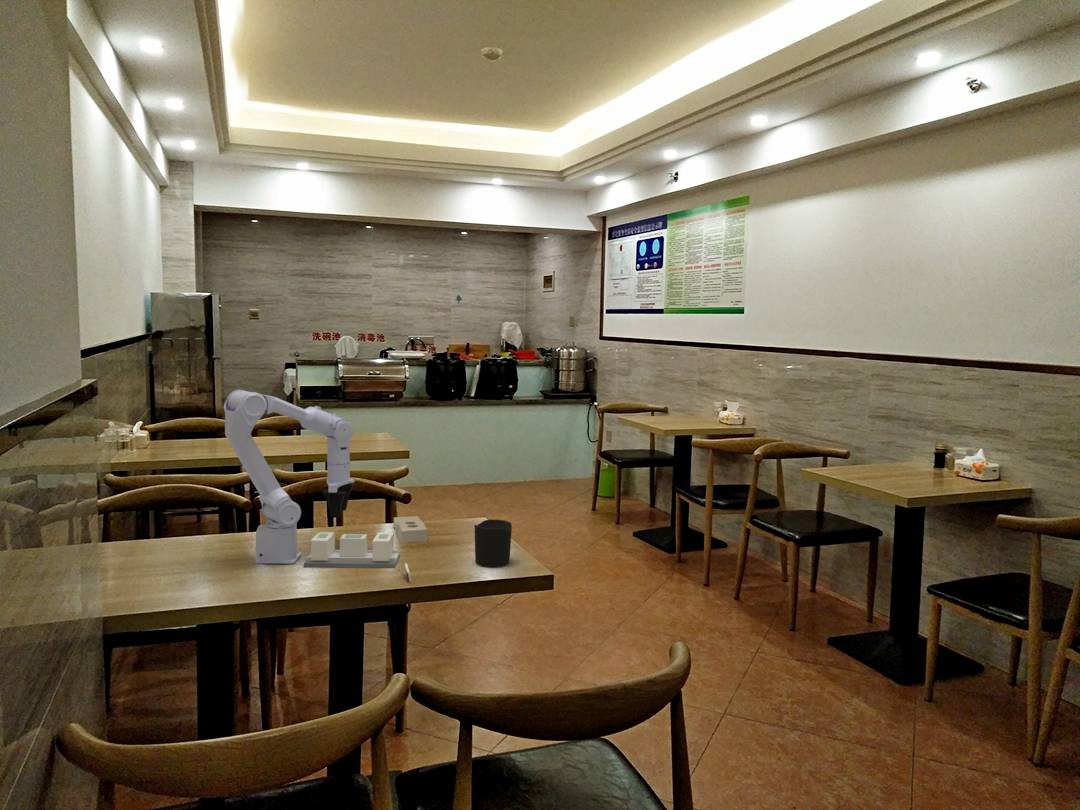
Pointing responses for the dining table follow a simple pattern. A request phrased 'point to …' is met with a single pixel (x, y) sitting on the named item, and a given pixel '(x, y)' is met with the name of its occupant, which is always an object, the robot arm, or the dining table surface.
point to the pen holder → (493, 543)
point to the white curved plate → (407, 571)
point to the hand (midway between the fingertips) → (338, 513)
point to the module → (353, 545)
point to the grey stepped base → (329, 557)
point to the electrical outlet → (410, 529)
